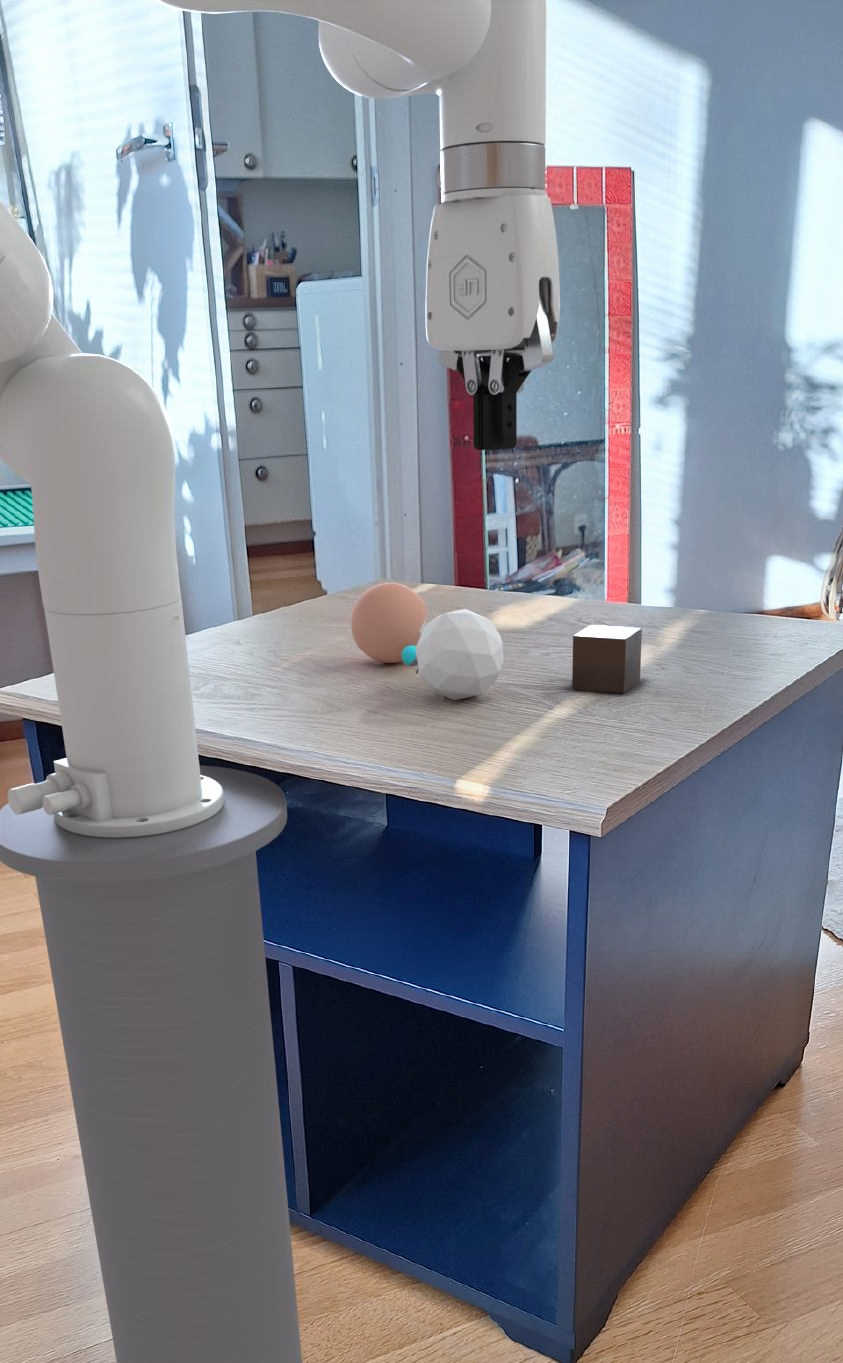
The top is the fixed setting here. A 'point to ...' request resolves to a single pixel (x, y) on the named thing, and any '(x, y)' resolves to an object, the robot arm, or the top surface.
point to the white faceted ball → (457, 654)
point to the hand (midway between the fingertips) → (495, 448)
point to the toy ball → (388, 621)
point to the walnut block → (606, 659)
